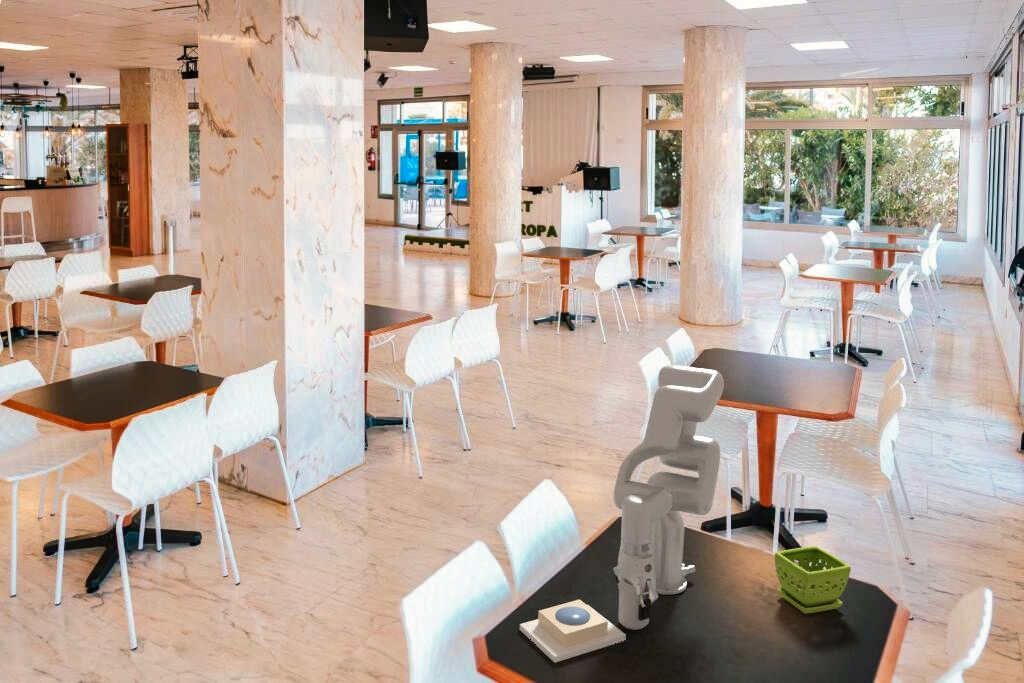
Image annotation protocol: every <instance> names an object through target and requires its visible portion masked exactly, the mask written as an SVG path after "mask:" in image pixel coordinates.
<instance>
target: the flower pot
mask: <svg viewBox="0 0 1024 683" xmlns="http://www.w3.org/2000/svg"><path fill="white" fill-rule="evenodd" d="M795 561H797V564H796V563H795ZM810 563H811V564H810ZM774 564H775V572H776V576H777V578H778V579H777V580H778V582H779V584H780V586H781V587H778V588H776V591H777V593H778V594H779V595H780V596H781V597H782V598H783V599H784V600H786V601H787V602H788V603H789V604H791V605H792V606H793V607H795V608H796V609H798V610H799V611H800V612H802V613H803V614H805V615H807V614H813V613H820V612H826V611H831V610H835V609H838V608H839V607H841V606H842V605H843V601H842V600H840V599H839V598H840V597H841V595H842V594H843V592H844V590H845V589H846V586H847V585H848V582H849V578H850V574H851V568H852V567H851V565H849V564H848V563H847V562H845V561H843V560H842V559H840V558H839V557H837V556H835V555H833V554H832V553H830V552H828V551H827V550H825V549H823V548H821V547H819V546H817V545H813V546H804V547H797V548H791V549H786V550H785V549H784V550H779V551H776V552H775V553H774ZM824 568H825V569H824Z"/></svg>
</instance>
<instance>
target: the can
mask: <svg viewBox="0 0 1024 683" xmlns="http://www.w3.org/2000/svg"><path fill="white" fill-rule="evenodd" d="M646 591H647V589H646V588H645V590H644V591H643V592H646ZM618 593H619V604H618V617H617V618H618V622H619V624H621V625H622V627H624V628H625V629H628V630H633V631H634V630H635V631H637V630H641V629H643V628H645V627H647V625H649V622H650V618H648V619H645V620H642V621H640V620H639V619H638V616H639V605H641V603H640V600H639V595H637V594H636V592H635V590H634V589H633V585H630V584H628V583H626V582H625V581H624V579H623V578H622V581H621V582H620V584H619V589H618ZM643 597H644V601H645V600H646V599H647V594H646V595H643Z"/></svg>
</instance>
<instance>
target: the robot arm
mask: <svg viewBox="0 0 1024 683" xmlns="http://www.w3.org/2000/svg"><path fill="white" fill-rule="evenodd" d="M657 378H658V380H657V381H658V388H657V389H656V391H655V393H654V394H653V395H654V396H653V400H652V403H651V404H652V405H651V409H650V412H649V415H648V417H649V418H648V420H647V426H646V430H645V435H644V438H643V441H641V443H639V444H638V445H636V447H635V448H633V449H632V450H631V451H630V452H629V453H628V454H627V455H626V457H625V458H624V459H623V461H622V462H621V464H620V467H619V469H618V472H617V477H616V479H615V480H616V481H615V485H614V489H613V502H614V505H615V507H616V508H618V509H619V510H621V530H620V531H621V532H620V533H621V535H620V547H619V552H618V558H617V565H616V566H614V567H612V569H613V573H614V575H615V580H616V583H617V585H616V588H617V589H618V590H619V584H620V582H621V581H622V578H623V579H624V581H625V582H626V583H628V584H630V585H633V589H634V590H635V592H636V594H637V595H639V600H640V603H641V605H639V616H638V619H639V620H640V621H642V620H645V619H648V618H649V619H650V618H651V612H652V610H651V609H652V606H651V605H653V604H654V603H655V602H656V600H658V598H659V595H668V596H670V595H676V594H680V593H682V592H683V591H686V589H687V587H688V586H687V585H688V582H687V579H686V577H685V576H687V575H688V574H692V573H695V572H696V567H695V565H692V564H691V565H688V566H686V565H685V563H683V557H684V553H683V552H684V540H685V539H684V538H685V521H684V519H683V516H682V515H681V513H686V514H691V515H697V516H706V515H708V514H709V513H710V512H711V510H712V508H713V504H714V499H715V493H716V487H717V481H718V475H719V471H720V462H721V448H720V444H719V442H718V441H717V440H715V439H714V438H712V437H707V436H701V435H697V434H696V431H697V426H698V423H704V422H707V421H708V419H710V417H711V415H712V413H713V411H714V410H715V408H716V406H717V404H718V402H719V401H720V399H721V397H722V395H723V392H724V387H725V381H724V380H725V379H724V377H723V375H722V373H721V372H720V371H718V370H715V369H708V368H701V367H699V368H698V367H693V366H686V365H685V366H684V365H671V364H670V365H666V366H663V367H662V368H660V369H659V371H658V377H657ZM657 457H659V461H660V463H661V464H662V465H663V466H666V467H669V468H672V469H673V468H674V469H678V470H684V471H687V472H688V471H689V472H693V473H694V472H695V473H697V474H698V477H697V476H692V475H691V476H690V475H685V474H680V473H676V472H675V473H674V472H671V471H670V472H669V471H657V472H654V473H653V474H651V475H650V476H649V477H648V479H647V482H646V483H644V482H640V481H636V480H632V475H633V474H634V471H635V470H636V468H638V467H639V465H641V464H642V463H644V462H646V461H648V460H650V459H653V458H657ZM680 512H681V513H680ZM645 588H646V589H647V591H646V592H643V591H644V590H645ZM646 594H647V599H646V600H645V601H644V597H643V595H646ZM617 597H618V598H617V604H618V605H619V592H618V596H617Z"/></svg>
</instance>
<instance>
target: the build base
mask: <svg viewBox="0 0 1024 683" xmlns="http://www.w3.org/2000/svg"><path fill="white" fill-rule="evenodd" d="M537 614H538V616H537V617H538V618H537V619H534V620H529V621H527V622H523V623H519V631H520V632H522V634H524V635H525V636H526V638H528V639H529V640H530V639H531V640H530V641H531V642H532V643H533V642H534V643H533V644H534V645H535V644H536V645H535V646H536V647H537V648H539V650H541V651H542V653H544V654H545V655H546V656H547V657H548V658H549V659H550V660H551V661H552V662H553V663H558V662H561V661H564V660H568V659H571V658H574V657H577V656H580V655H584V654H586V653H590V652H593V651H596V650H599V649H602V648H603V649H604V648H606V647H610V646H613V645H615V643H616V644H618V643H622V642H624V640H625V641H626V636H627V635H626V633H624V632H623V631H622V630H621V629H619V628H618V627H617V626H615V624H613V623H611V621H609V620H608V619H607V618H605V617H604V616H603V615H602V614H600V613H599V612H598V611H596V609H594V608H593V607H592V606H590V605H589V604H586V603H585V602H583V601H582V600H581V599H575V600H573V601H569V602H566V603H562V604H558V605H555V606H551V607H548V608H544V609H543V608H542V609H540V610H538V613H537ZM621 641H622V642H621Z"/></svg>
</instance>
